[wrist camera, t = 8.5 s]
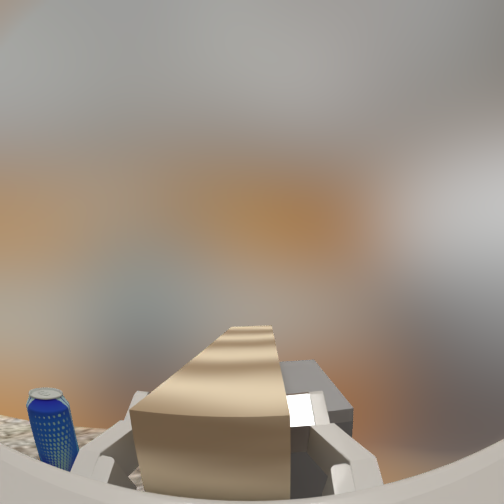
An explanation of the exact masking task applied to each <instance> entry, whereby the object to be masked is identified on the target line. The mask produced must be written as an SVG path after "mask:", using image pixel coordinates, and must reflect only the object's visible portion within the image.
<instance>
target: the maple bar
mask: <svg viewBox="0 0 504 504" xmlns="http://www.w3.org/2000/svg"><path fill="white" fill-rule="evenodd" d="M129 413H130V420H131V426H132V432H133V438H134V443H135V449H136V454H137V459H138V464H139V468H140V473H141V477H142V481H143V486H144V490H145V492H151V493H156V494H163V495H170V496H177V497H186V498H195V499H208V500H225V501H272V500H289V499H290V458H291V442H290V411H289V406H288V402H287V397H286V392H285V387H284V382H283V378H282V373H281V368H280V363H279V358H278V354H277V349H276V344H275V340H274V335H273V330H272V326H271V325H269V326H243V327H231V328H230V329H228V330H227V331H226V332H225V333H224V334H223V335H221V336H220V337H219V338H218V339H217V340H215V341H214V342H213V343H212V344H211V345H209V346H208V347H207V348H206V349H205V350H203V351H202V352H201V353H200V354H199V355H197V356H196V357H195V358H194V359H192V360H191V361H190V362H189V363H187V364H186V365H185V366H184V367H182V368H181V369H180V370H179V371H177V372H176V373H175V374H174V375H172V376H171V377H170V378H169V379H168V380H166V381H165V382H164V383H162V384H161V385H160V386H159V387H158V388H156V389H155V390H154V391H152V392H151V393H150V394H148V395H147V396H146V397H145V398H143V399H142V400H141V401H139V402H138V403H137V404H136V405H134V406H133V407H132V408H130V409H129Z"/></svg>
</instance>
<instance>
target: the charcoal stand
mask: <svg viewBox="0 0 504 504" xmlns="http://www.w3.org/2000/svg"><path fill="white" fill-rule="evenodd" d="M279 363H280V368H281V373H282V378H283V382H284V387H285V392H286V394H289V393H301V392H313V391H323V393H324V397H325V401H326V406H327V411H328V415H329V420H330V423H335V424H336V425H337V426H338V427H339V428H341V429H342V430H343V431H344V432H345V433H347V434H348V435H349V436H350V437H351V438H352V427H353V407H352V406H351V405H350V404H349V402H348V401H347V400H346V398H345V397H344V396H343V395H342V394H341V392H340V391H339V390H338V389H337V388H336V386H335V385H334V384H333V382H332V381H331V380H330V379H329V378H328V377H327V375H326V374H325V373H324V372H323V370H322V369H321V368H320V366H319V365H318V364H317V363H316V361H315V360H302V361H287V362H279ZM327 478H328V476H327V475H326V474H325V472H324V471H323V470H322V469H321V468H320V467H319V466H318V465H317V464H316V462H315V461H314V460H313V459H312V458H311V457H310V456H309V455H308V453H307V452H294V453H291V458H290V499H302V498H311V497H320V496H322V492H323V490H324V487H325V484H326V481H327Z"/></svg>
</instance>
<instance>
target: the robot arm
mask: <svg viewBox="0 0 504 504" xmlns="http://www.w3.org/2000/svg"><path fill="white" fill-rule="evenodd" d="M150 393H151V392H144V391H137V392H136V393H135V394H134V397H133V399H132V402H131V404H130V407H129V409H130V408H132V407H133V406H134V405H136V404H137V403H138V402H139V401H141V400H142V399H143V398H145V397H146V396H147V395H148V394H150ZM286 397H287V402H288V406H289V411H290V442H291V453H294V452H307V453H308V455H309V456H310V457H311V458H312V459H313V460H314V461H315V462H316V464H317V465H318V466H319V467H320V468H321V469H322V470H323V471H324V472H325V474H326V475H327V476H328V478H327V481H326V484H325V487H324V490H323V492H322V496H320V497H311V498H302V499H289V500H272V501H225V500H208V499H195V498H186V497H177V496H170V495H163V494H156V493H151V492H145V491H140V490H136V486H135V485H134V484H133V482H132V481H131V480H130V479H129V478H128V476H129V475H130V474H131V473H132V472H133V471H134V470H135V469H136V468H137V467H138V466H139V464H138V459H137V454H136V449H135V443H134V438H133V432H132V426H131V420H130V413H129V409H128V412H127V414H126V417H125V419H124V421H122V420H121V421H119V422H118V423H116V424H115V425H113V426H112V427H111V428H109V429H108V430H106V431H105V432H103V433H102V434H101V435H99V436H98V437H96V438H95V439H93V440H92V441H91V442H89V443H88V444H86V445H85V446H83V447H82V448H80V450H79V452H78V455H77V457H76V459H75V462H74V464H73V466H72V469H71V471H70V472H68V471H66V470H63V469H60V468H57V467H55V466H52V465H49V464H47V463H44V462H42V461H39V460H37V459H34V458H32V457H30V456H28V455H25V454H23V453H21V452H19V451H17V450H14V449H12V448H10V447H8V446H6V445H4V444H2V443H0V504H504V439H503V440H501V441H499V442H497V443H495V444H493V445H491V446H489V447H487V448H485V449H483V450H481V451H479V452H476V453H475V454H472V455H470V456H468V457H465V458H463V459H460V460H458V461H456V462H453V463H450V464H448V465H446V466H443V467H440V468H437V469H434V470H431V471H429V472H426V473H423V474H420V475H416V476H413V477H410V478H406V479H403V480H399V481H396V482H392V483H388V484H384V485H383V481H382V477H381V474H380V470H379V466H378V463H377V460H376V457H375V456H374V455H373V454H371V453H370V452H369V451H368V450H366V449H365V448H364V447H362V446H361V445H360V444H359V443H358V442H356V441H355V440H354V439H353V438H351V437H350V436H349V435H348V434H347V433H345V432H344V431H343V430H342V429H341V428H339V427H338V426H337V425H336V424H335V423H330V420H329V415H328V411H327V406H326V401H325V397H324V393H323V391H313V392H301V393H289V394H286Z"/></svg>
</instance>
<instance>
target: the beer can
mask: <svg viewBox="0 0 504 504" xmlns="http://www.w3.org/2000/svg"><path fill="white" fill-rule="evenodd" d="M26 406H27V411H28V416H29V420H30V424H31V428H32V432H33V436H34V440H35V443H36V447H37V450H38V454H39V457H40V460H41V461H42V462H44V463H47V464H49V465H52V466H55V467H57V468H60V469H63V470H66V471H68V472H70V471H71V469H72V466H73V464H74V462H75V459H76V457H77V455H78V452H79V447H78V443H77V439H76V435H75V430H74V426H73V421H72V416H71V411H70V406H69V403H68V401H67V400H66V399H65V398H64V396H63V393H62V391H61V390H58V389H55V388H36V389H33V390H30V391H29V398H28V401H27V404H26Z"/></svg>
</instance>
